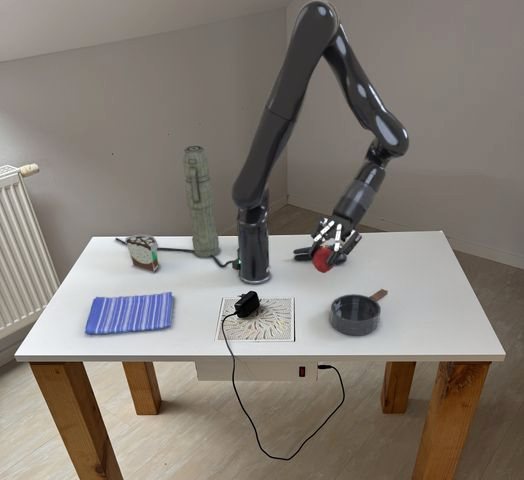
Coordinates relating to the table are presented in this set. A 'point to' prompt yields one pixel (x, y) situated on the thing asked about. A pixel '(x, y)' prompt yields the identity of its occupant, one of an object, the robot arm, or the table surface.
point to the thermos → (200, 202)
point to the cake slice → (143, 251)
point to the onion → (322, 259)
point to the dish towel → (130, 313)
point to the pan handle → (379, 295)
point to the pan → (355, 314)
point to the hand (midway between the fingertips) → (319, 260)
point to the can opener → (304, 256)
